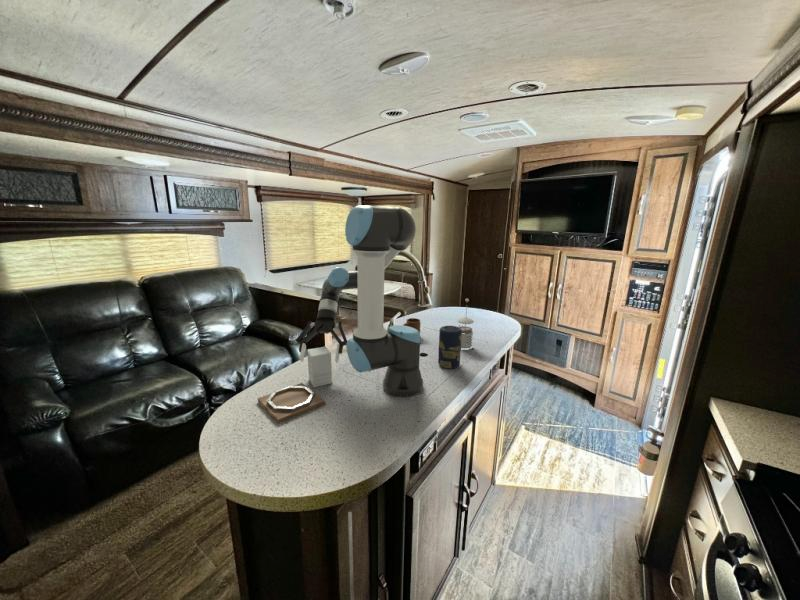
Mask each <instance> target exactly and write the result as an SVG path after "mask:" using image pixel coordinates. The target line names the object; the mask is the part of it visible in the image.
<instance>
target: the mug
mask: <svg viewBox="0 0 800 600" xmlns="http://www.w3.org/2000/svg"><path fill="white" fill-rule="evenodd" d="M403 326H408V327H412V328H415V329H416V330H418V331H419V333H420V334H421V320H420V319H419V318H413V317H410V318H408V319H406V322H404V323H403Z"/></svg>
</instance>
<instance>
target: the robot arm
mask: <svg viewBox="0 0 800 600" xmlns="http://www.w3.org/2000/svg"><path fill="white" fill-rule="evenodd" d="M416 228H417V227H416V223H415V220H414V218H413V216H412V214H411V213H410V212H408V211H407V210H406V209H405V208H402V207H398V206H380V205H368V204H367V205H366V204H365V205H356V206H354V207H352V208H351V210H350V211H349V213H348V215H347V217H346V221H345V227H344V229H345V231H344V234H345V235H344V236H345V240H346V242H347V243H348V244H349V245H350V246H352V251H353V252H354V254H355V255H356V256H357V265H356V266H357V267H356V270H349V271H348V270H347V269H346V268H343V267H340V266H338V267H334V268H333V269H332V270H331V271H330V273H329V275H328V276H327V279H324V280H323V285H322V287H321V288H322V290H321V294H320V301H319V304H318V312H317V315H316V320H315V322H312V321H311V320H308V322H307V323H306V326H305V328H304V329H303V330H302V332H300V334H299V335H298V337H297V338H296V339H295V342H296V343H297V344H298V345H299V348H298V352H299V353H300V354H299V361H300V362H303V363H304V359H305V354H306V351H307V345H306V344H307V343H308V342H310V341H311V340H312V339H313V338H315V336H316V335H319V333H320V334H322V335H323V334H326V335H328V334H331V336H333V339H335V341H336V342H337V345H336V352H335V358H334V361H335V363H337V364H339V360H340V355H342V354H343V349H344V347H346V354H347V358H348V360H349V362H350V364H351V366H352V368H353V369H354V370H355V371H356V372H357V373H367V372H372V371H375V370H379V369H383V368H386V367H387V368H386V371H385V374H384V377H383V379H382V389H383V390H384V391H385V392H386V393H387V394H389V395H391V396H394V397H395V396H396V397H401V398H402V397H404V398H405V397H412V396H416V395H418V394H420V393H421V392H422V391H423V390H424V389H423V388H424V379H423V378H422V373H421V369H420V357H421V355H420V354H421V353H420V352H421V349H420V348H421V332H420V333H419V331H418V330H416V329H415V328H412V327H408V326H403V325H404V324H403V325H402V324H401V325H400V324H398V325H397V324H392V325H390V326H389V327H388V328H387V329H386V328H385V327H384V313H385V312H384V306H385V305H384V301H385V299H384V298H385V269H386V268H387V267H388V266H389V265H390V264H391V263H392V262H393V260H394V259H395V258H396V257H397V256H398V255H399V253H401V252H402V251H405V250H406V249H408V248H409V246H410V245H411V244H412V243H413V241H414V239H415V236H416V230H417V229H416ZM353 289H354V290H355V289H357V326H356V328H355V329H353V331H352V338H349V339H347V336H346V334H345V332H344V330H343V323H342V321H338V322H336V318H337V313H338V304H339V299H340V295H341V294H342V291H345V290H353ZM313 327H314V328H313ZM335 328H337V329H339V332H340V334H341V338H342V340H341V338H340V337H339V335H338V334H337V333H336V332H335V330H334V329H335Z"/></svg>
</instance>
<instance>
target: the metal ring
mask: <svg viewBox="0 0 800 600" xmlns="http://www.w3.org/2000/svg"><path fill="white" fill-rule="evenodd" d="M306 386H307V385H305V386H294V385H289V386H286V387H283V388H280V389H278V390H274V391H273V392H272V393H270V394H271V396H270V397H269V398H268V400H267V404H268V405H269V406H270V407H271V408H272V409H273V410H274V411H292V412H293V411H295V410H298V409H300V408H302V407H305V406H307V405H310V403H311V401H312V399H313V397H314V392H315V391H314V390H312V389H311V388H310V387H308V386H307V387H308V388H307V387H306ZM310 389H311V390H312V391H311V390H310ZM289 390H304V391H306V392H307V393H308V394H309V395H310V396H309V398H308V400H307V401H306V402H303V403H301V404H298V405H296V406H293V407H280V406H276V405H275V404H274V403H273V402H272V400H273V399H274V397H275V396H276V395H278V394H280V393H283V392H286V391H289Z"/></svg>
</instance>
